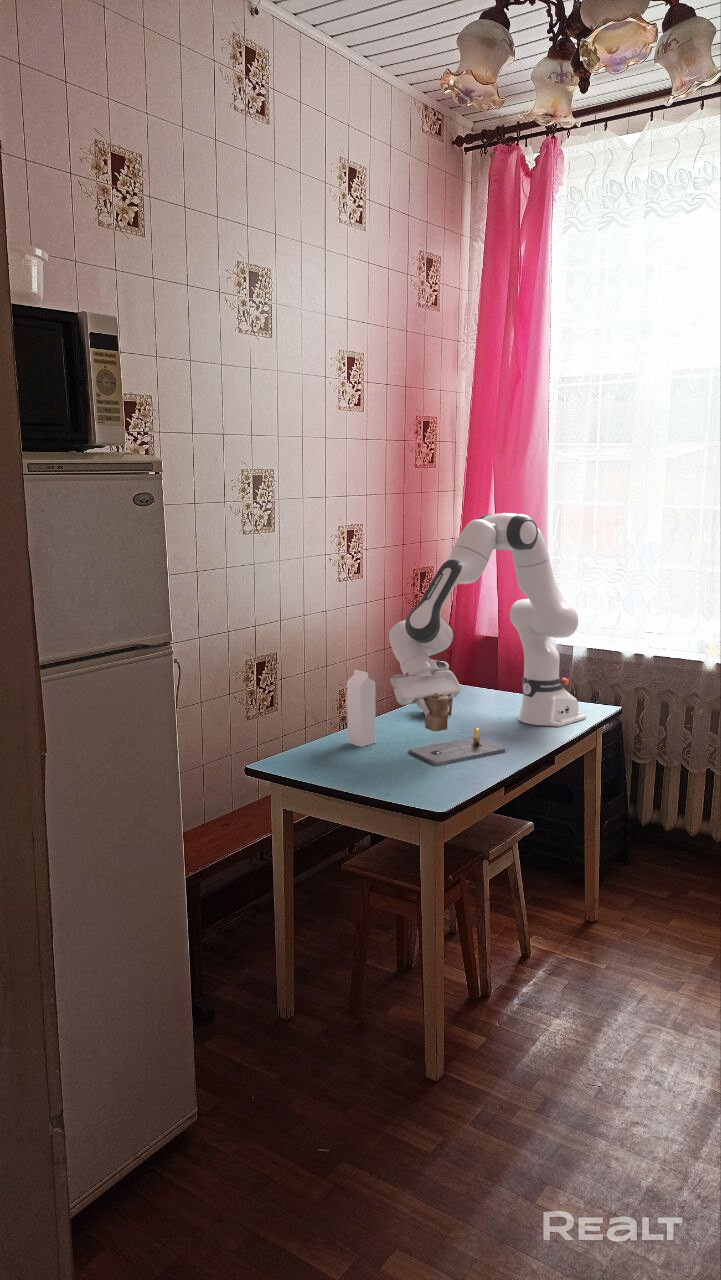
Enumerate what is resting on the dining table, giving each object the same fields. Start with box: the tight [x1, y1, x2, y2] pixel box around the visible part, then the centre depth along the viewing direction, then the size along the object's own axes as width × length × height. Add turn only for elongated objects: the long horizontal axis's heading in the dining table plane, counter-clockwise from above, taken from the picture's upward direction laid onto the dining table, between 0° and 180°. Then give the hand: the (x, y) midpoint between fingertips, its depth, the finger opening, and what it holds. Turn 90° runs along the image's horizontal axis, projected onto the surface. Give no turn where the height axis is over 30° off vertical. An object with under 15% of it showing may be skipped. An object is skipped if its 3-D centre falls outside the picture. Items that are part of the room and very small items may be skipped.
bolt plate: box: [407, 727, 506, 767], centre depth 257 cm, size 24×14×6 cm, turn 119°
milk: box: [346, 669, 376, 748], centre depth 265 cm, size 6×6×22 cm
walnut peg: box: [424, 693, 449, 732], centre depth 252 cm, size 4×4×10 cm
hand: (437, 712), depth 251 cm, fingers closed on walnut peg, 4 cm apart
